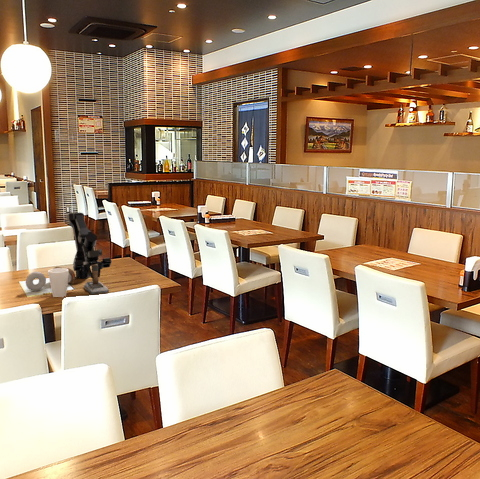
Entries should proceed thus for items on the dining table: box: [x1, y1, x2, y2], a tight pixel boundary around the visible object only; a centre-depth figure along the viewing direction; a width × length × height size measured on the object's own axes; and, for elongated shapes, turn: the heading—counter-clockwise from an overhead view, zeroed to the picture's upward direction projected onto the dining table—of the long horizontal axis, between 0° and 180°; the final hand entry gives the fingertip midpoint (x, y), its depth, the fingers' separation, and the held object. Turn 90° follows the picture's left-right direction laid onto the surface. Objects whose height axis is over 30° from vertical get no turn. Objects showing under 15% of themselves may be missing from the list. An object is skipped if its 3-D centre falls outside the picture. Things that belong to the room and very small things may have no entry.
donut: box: [25, 271, 47, 292], centre depth 246 cm, size 10×3×10 cm, turn 133°
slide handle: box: [89, 264, 103, 288], centre depth 249 cm, size 5×5×12 cm
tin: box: [52, 266, 76, 285], centre depth 262 cm, size 15×3×8 cm, turn 71°
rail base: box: [83, 281, 110, 295], centre depth 249 cm, size 14×10×3 cm
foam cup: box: [47, 267, 69, 298], centre depth 237 cm, size 10×9×13 cm
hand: (95, 277), depth 248 cm, fingers closed on slide handle, 3 cm apart
